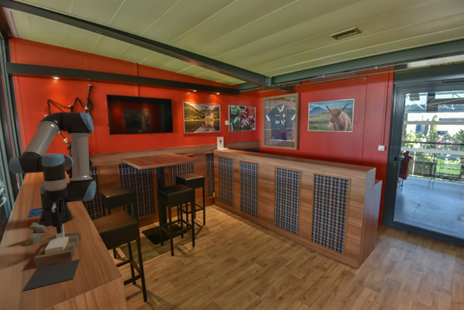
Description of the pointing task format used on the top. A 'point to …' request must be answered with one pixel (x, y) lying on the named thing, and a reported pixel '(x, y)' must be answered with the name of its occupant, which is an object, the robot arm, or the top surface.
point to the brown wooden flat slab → (60, 256)
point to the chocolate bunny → (36, 234)
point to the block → (56, 245)
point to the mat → (52, 274)
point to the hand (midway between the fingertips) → (60, 238)
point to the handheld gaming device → (35, 212)
